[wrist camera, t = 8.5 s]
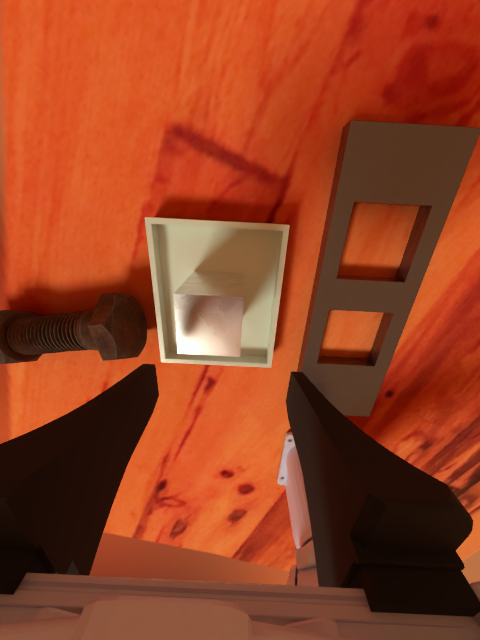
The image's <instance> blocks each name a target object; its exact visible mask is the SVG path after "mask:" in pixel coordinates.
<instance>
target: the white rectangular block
mask: <svg viewBox="0 0 480 640" xmlns="http://www.w3.org/2000/svg"><path fill="white" fill-rule="evenodd" d="M173 295H174V309H175V323H176V338H177V352H178V354H195V355H213V356H231V357H240V351H241V336H242V321H243V305H244V273H227V272H210V271H194V272H193V273H192V274H191V275H190V276H189V277H188V278H187V279H186V280H185V281H184V283H183V284H182V285H181V286H180V287H179V288H178V289H177V290H176V291H175V293H174V294H173Z"/></svg>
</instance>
